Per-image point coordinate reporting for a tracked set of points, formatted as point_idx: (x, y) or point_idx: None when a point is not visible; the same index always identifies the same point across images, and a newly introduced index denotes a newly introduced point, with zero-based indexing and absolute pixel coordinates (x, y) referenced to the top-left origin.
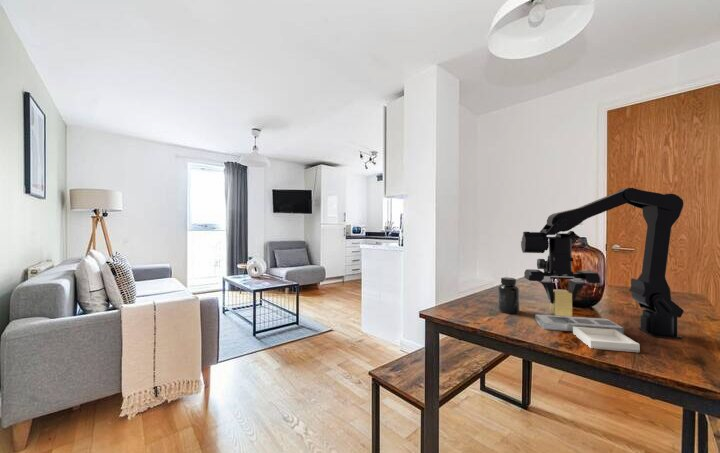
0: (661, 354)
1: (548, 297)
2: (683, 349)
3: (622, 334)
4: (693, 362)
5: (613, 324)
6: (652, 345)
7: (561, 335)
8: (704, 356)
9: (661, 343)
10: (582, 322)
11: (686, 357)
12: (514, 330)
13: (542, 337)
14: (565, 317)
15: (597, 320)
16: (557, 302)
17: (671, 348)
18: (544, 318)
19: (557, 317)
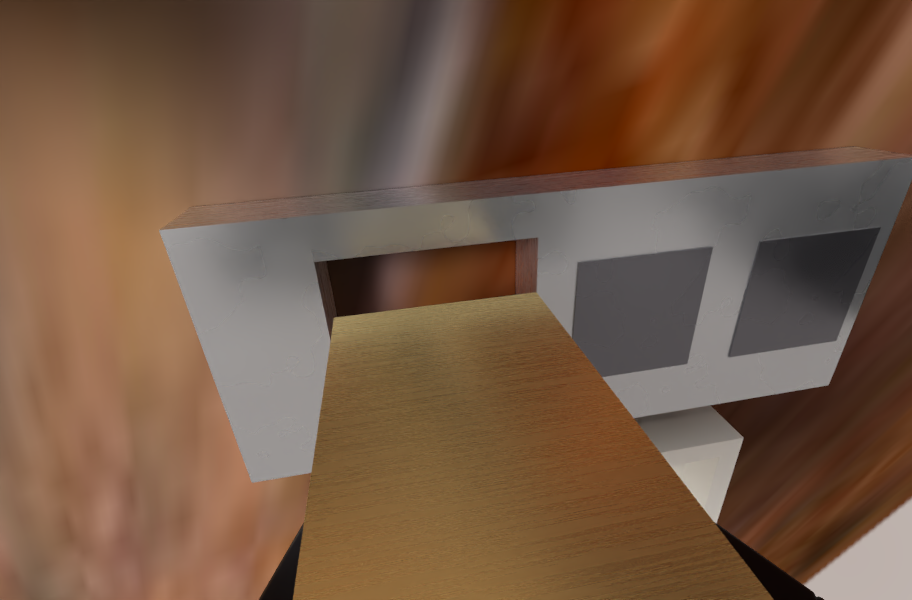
0: (743, 540)
1: (269, 596)
2: (893, 454)
3: (717, 506)
4: (792, 563)
5: (823, 330)
6: (800, 458)
7: None
8: (894, 496)
9: (871, 415)
10: (602, 366)
11: (813, 531)
12: (29, 539)
13: (245, 573)
14: (515, 239)
15: (776, 258)
16: None
17: (852, 462)
18: (271, 362)
19: (429, 246)
